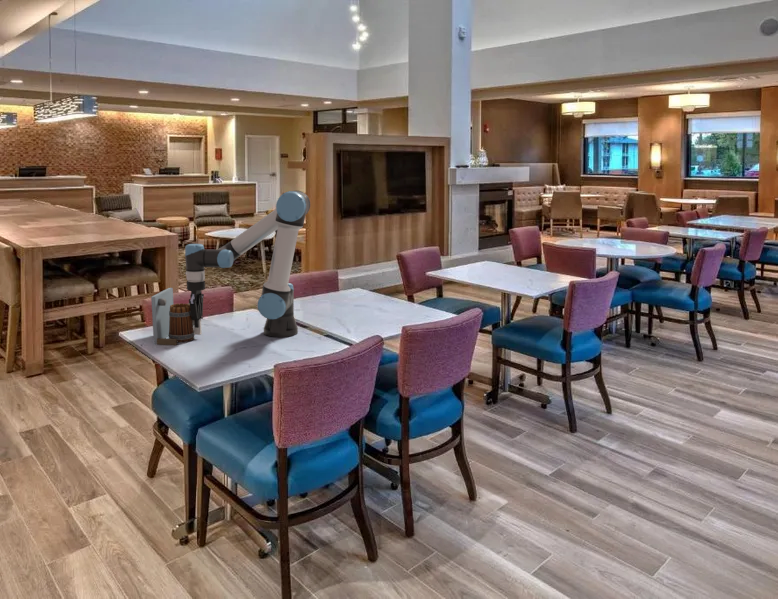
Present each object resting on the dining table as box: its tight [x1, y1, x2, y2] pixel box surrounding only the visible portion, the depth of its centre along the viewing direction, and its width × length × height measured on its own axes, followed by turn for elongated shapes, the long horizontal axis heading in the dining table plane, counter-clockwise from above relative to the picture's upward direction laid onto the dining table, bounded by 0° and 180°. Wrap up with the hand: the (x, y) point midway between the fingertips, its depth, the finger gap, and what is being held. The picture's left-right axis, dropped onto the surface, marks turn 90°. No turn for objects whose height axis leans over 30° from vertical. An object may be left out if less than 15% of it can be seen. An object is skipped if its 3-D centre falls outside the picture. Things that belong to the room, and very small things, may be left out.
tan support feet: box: [156, 326, 194, 346], centre depth 271 cm, size 8×22×2 cm, turn 179°
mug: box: [168, 302, 195, 343], centre depth 270 cm, size 16×11×15 cm
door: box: [150, 287, 174, 345], centre depth 269 cm, size 4×20×20 cm, turn 179°
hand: (197, 334), depth 271 cm, fingers closed
